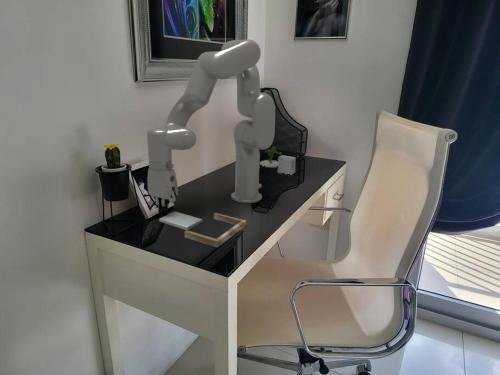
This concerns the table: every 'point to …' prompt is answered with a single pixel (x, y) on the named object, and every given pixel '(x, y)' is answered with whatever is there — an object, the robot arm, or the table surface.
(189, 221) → the hard drive
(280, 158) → the medicine box
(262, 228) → the table surface
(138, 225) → the table surface
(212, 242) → the wooden frame
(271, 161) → the potted plant
